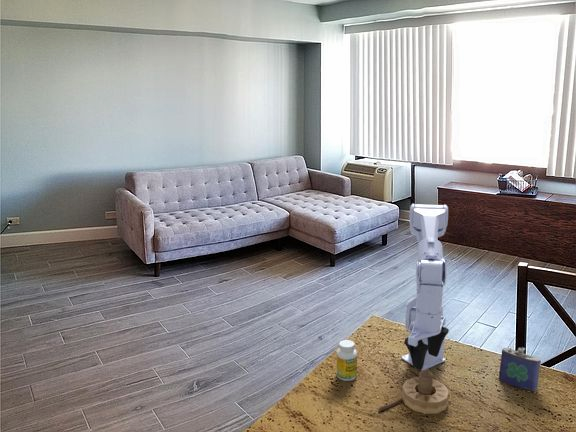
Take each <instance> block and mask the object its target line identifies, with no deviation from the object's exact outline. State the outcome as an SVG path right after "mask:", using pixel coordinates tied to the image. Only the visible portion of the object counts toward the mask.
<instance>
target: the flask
mask: <svg viewBox="0 0 576 432" xmlns="http://www.w3.org/2000/svg"><path fill="white" fill-rule="evenodd" d="M525 351H526V348H525V347H523V346H522V347H518V348H517V350H515V349H512V347H504V348H502V349H501V354H500V355H501V356H500V366H499V372H498V381H499V382H500V383H502V384H503V385H506V386H508V387H511V388H514V389H518V390H520V389H521V391H523V390H525V391H524V392H527V391H530V392H529V393H532V392H536V393H537V391H538V386H539V379H540V368H541V364H542V360H541V358H540V357H538V356H534V355H530V354H526V353H525Z"/></svg>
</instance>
